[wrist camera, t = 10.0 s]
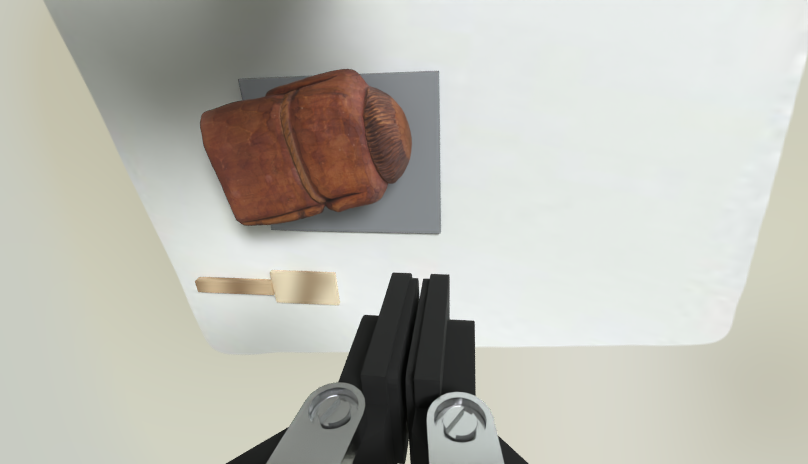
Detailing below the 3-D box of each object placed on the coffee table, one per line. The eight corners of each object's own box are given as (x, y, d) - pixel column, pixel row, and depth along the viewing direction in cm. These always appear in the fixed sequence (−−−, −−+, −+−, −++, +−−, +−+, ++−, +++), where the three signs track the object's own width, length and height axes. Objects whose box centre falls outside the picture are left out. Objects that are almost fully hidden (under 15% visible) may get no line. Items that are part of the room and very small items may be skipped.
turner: (205, 296, 53) (201, 301, 52) (196, 267, 51) (191, 271, 50) (340, 302, 50) (337, 307, 49) (335, 271, 48) (333, 276, 47)
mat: (241, 78, 39) (238, 79, 38) (439, 70, 36) (438, 71, 36) (273, 227, 46) (271, 229, 46) (440, 230, 43) (440, 233, 43)
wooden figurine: (265, 212, 44) (426, 178, 41) (236, 236, 38) (420, 199, 35) (221, 102, 40) (396, 53, 36) (181, 110, 34) (385, 53, 30)
